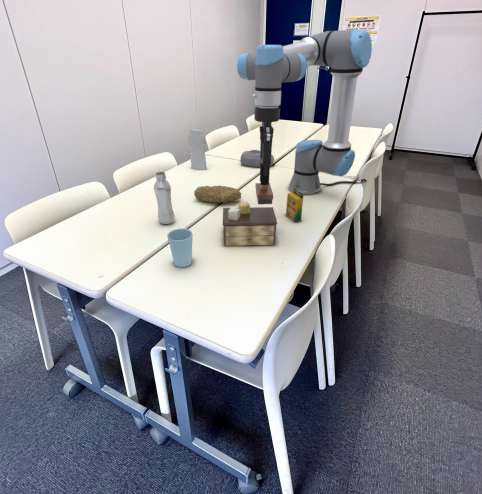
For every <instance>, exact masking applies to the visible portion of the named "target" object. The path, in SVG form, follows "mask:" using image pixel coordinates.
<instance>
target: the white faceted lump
mask: <svg viewBox="0 0 482 494" xmlns="http://www.w3.org/2000/svg"><path fill="white" fill-rule="evenodd" d="M230 208H231V209H229V211H228V219H230V220H238V219H239V217H240V209H237V208H238V207H230Z"/></svg>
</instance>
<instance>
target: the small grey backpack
mask: <svg viewBox="0 0 482 494" xmlns="http://www.w3.org/2000/svg"><path fill="white" fill-rule="evenodd" d="M239 161H240V165H241V166H245V167H249V168H260V162H261V160H260V149H252V150H244V151H243V152H242V153H241V155H240V160H239ZM274 163H275V157H274V155H273V154H272V153H271V165H270V167H272V166H273V165H274Z"/></svg>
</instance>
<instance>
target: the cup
mask: <svg viewBox="0 0 482 494" xmlns="http://www.w3.org/2000/svg"><path fill="white" fill-rule="evenodd" d="M193 235H194V234H193V231H192V230H191V229H188V228H175V229H171V230H169V232H168V233H167V235H166V237H167V241H168V244H169V248H170V252H171V256H172V259H173V263H174V265H175V266H176V267H177V268H185V267H189V266H190V265H191V264H192V262H193Z"/></svg>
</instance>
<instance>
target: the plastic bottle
mask: <svg viewBox="0 0 482 494" xmlns="http://www.w3.org/2000/svg"><path fill="white" fill-rule="evenodd" d="M153 191H154V195H155V198H156V204H157V219H158V221H159V223H160V224H162V225H169V224H173V222H174V221H175V217H176V216H175V212H174V208H173V203H172V186H171V184H170V182H169V181H168V180H167V174H166V172H165V171H158V172H155V182H154V184H153Z"/></svg>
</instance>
